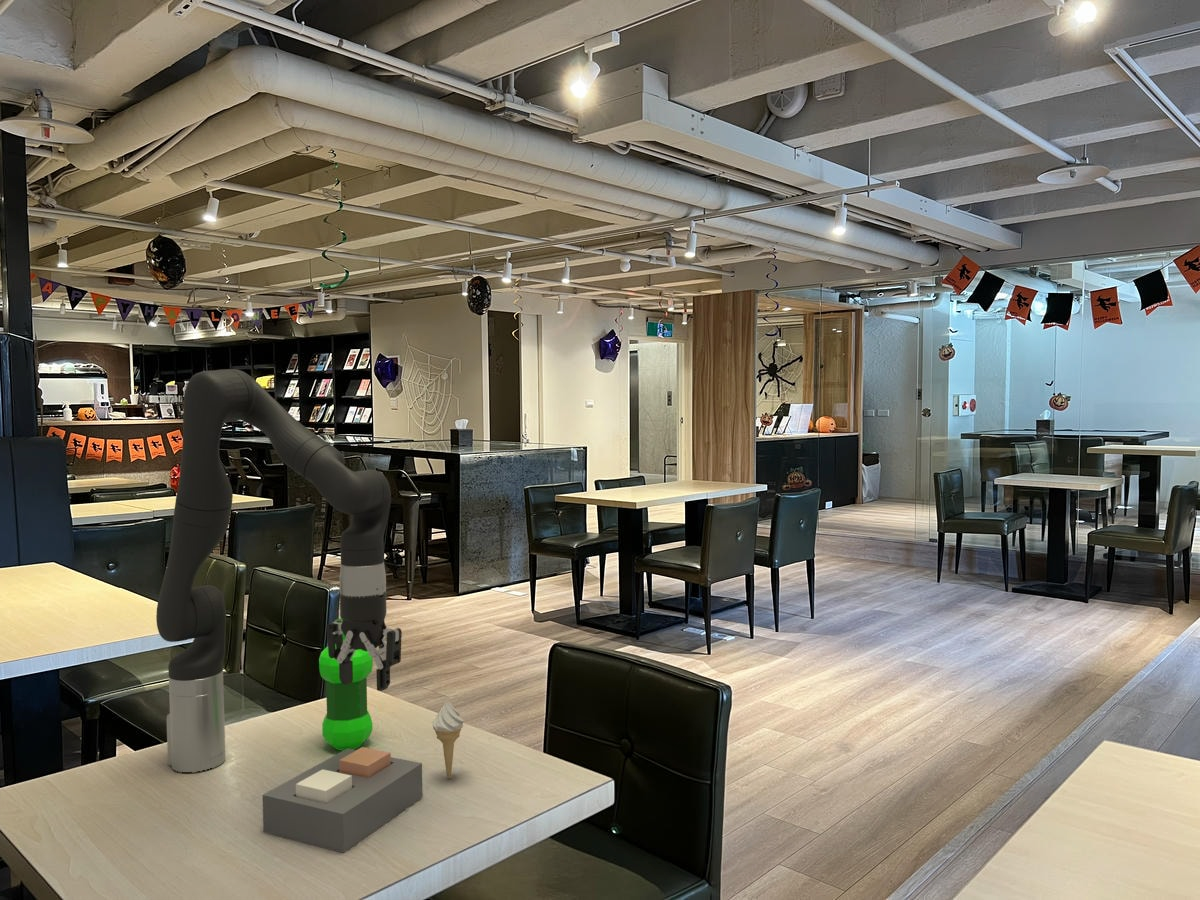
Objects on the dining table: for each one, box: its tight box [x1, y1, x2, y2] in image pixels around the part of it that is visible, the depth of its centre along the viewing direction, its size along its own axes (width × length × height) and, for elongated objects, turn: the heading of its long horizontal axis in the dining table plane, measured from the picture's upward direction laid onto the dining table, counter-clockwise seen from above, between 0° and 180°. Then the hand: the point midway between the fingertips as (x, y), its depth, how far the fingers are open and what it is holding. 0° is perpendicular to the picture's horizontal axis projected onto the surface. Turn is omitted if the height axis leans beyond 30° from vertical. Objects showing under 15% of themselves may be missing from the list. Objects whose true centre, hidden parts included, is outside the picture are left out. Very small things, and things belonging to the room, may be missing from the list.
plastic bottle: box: [318, 617, 374, 752], centre depth 172 cm, size 10×10×25 cm
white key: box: [296, 769, 352, 804], centre depth 139 cm, size 6×6×3 cm
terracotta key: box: [339, 746, 392, 778], centre depth 148 cm, size 6×6×3 cm
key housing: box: [261, 748, 423, 854], centre depth 144 cm, size 16×20×6 cm
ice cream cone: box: [431, 696, 464, 780], centre depth 157 cm, size 6×6×15 cm
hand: (364, 686), depth 148 cm, fingers open, 7 cm apart
